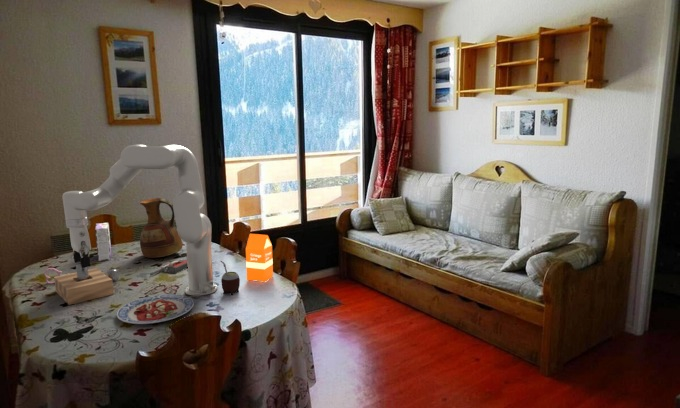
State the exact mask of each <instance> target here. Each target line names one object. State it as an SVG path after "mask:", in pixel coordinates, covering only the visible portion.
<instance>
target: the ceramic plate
mask: <svg viewBox="0 0 680 408" xmlns="http://www.w3.org/2000/svg"><path fill="white" fill-rule="evenodd" d="M194 303H195V302H194V300H193V299H192V298H191V297H189V296H187V295H182V294H173V293H169V294H168V293H164V294H154V295H149V296H145V297H141V298H138V299H134V300H132V301H130V302H128V303H126V304H124V305H122V306H120V308H119V309H118V310H117V312H116V317H117V319H118V320H120V321H121V322H124V323H127V324H134V325H147V324H149V325H150V324H156V323H161V322H162V323H163V322H166V321H170V320H173V319H176V318H178V317H181V316H183V315H185V314H187V313H188V312H190V311H191V310H192V308H193V307H194Z"/></svg>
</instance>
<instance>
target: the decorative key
mask: <svg viewBox="0 0 680 408" xmlns="http://www.w3.org/2000/svg"><path fill="white" fill-rule="evenodd" d="M48 271H54V272H56V274H57V276H61V275H66V274H71V272H70V273H69V272H66V274H63V271H61V270H58V269H57V268H54V267H48V268H46V269H45V271H44V273H43V275H44V277H45V278H46V279H45V282H46V283H47V284H49V285H50V284H51V285H52V284H55V282H54V281H49V279H51V276H49V275H47V272H48Z"/></svg>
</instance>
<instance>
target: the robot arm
mask: <svg viewBox="0 0 680 408" xmlns="http://www.w3.org/2000/svg"><path fill="white" fill-rule="evenodd" d="M171 168H175V169H176V177H177V183H178V184H177V185H178V188H179V190H178V191H179V192H177V194H176V195H175V196H174V198H173V201H172V204H173V209H174V215H175V217H174V221H175V225H176V229H177V231H178V234H179V237H180V238H181V240H182V242H184V243H186V245H185V247H186V260H187V266H188V268H187V275H188V276H187V279H188V286H186V287H185V289H184V292H185V294H186V295H188V296H192V297H193V296H194V297H197V296H206V295H210V294H213V293H215V292H217V290H218V285H217V284H216V283H214V276H213V275H214V272H213V270H214V269H213V258H212V257H213V256H212V255H213V254H212V253H213V252H212V222H211V220H210V218H209V217H208V216H207V215H206V214H203V213H201V209H202V208H203V206H204V205H205V202H206V201H205V199H206V198H205V195H204V189H203V185H202V184H203V183H202V179H201V175H200V169H199V168H200V167H199V163H198V160H197V158H196V156H195V155H194V153H193V152H192V151H191V150H190V149H188V148H187V147H184V146H183V145H178V144H167V145H160V146H159V145H156V146H155V145H154V146H153V145H145V144H143V143H141V144H140V143H137V144H130V145H127V146H126V147H124V149H122V151H121V153H120V158H119V159H118V160H117V161H116V162H115V163H114V164H113V165H112V166H111V167H110V168H109V173H110V174H109V176H108V178H107V179H106V180H104V182H103V183H102V184H101V185H99V186H98V187H97V188H95V189H91V190H88V191H82V190H70V191H69V190H68V191H66V192H64V193H62V197H61V198H62V203H63V212H64V219H65V226H66V229H69V240H70V244H71V245H70V246H71V248H72V251H73V252H72V253H73V254H72V255H73V260H74V263H75V264H78V263H81V267H82V268H85V267H88V268H89V267H91V265H92V264H91V258H90V253H89V252H90V251H91V250H92V246H91V244H92V243H91V240H90V234H89V231H88V226H89V220H88V213H87V212H88V211H90V212H91V211H97V210H99V209H101V208H103V207H106V206H108V205H109V204H110V203H112V202H113V201H114V200H115V199H116V198H117V197H118V196H119V195H120V194H121V193H122V192H123V191H124V189H125V188H126V187H127V186H128V184H129V183H130V182H132V181H133V180H134V179H135V178H136V176H138V175H139V174H140V173H141V172H142V171H143V170H167V169H171Z"/></svg>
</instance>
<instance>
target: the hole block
mask: <svg viewBox="0 0 680 408" xmlns="http://www.w3.org/2000/svg"><path fill="white" fill-rule="evenodd" d="M88 275H89V279H88V280H83V281H79V282H78V280H77V271H76V272H72V273H71V272H70V274H67V273H66V275H61V276H58V275H57V276H54V277H53V280H54V282H55V283H54V288H55V289H54V290H55V292H56V293H57V294H58V295H59V296H60V297H61V298H62V300H63V301H64V302H65V303H66V304H67V305H68V306H70V305H74V304H78V303H83V302H87V301H90V300H95V299H98V298H102V297H107V296H111V295H114V294H115V292H114V283H113V280H112V279H111V278H110V277H108V274H105V273H104V272H103V271H101V270H100V269H99V268H96V267H95V268H90V269H88Z"/></svg>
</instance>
